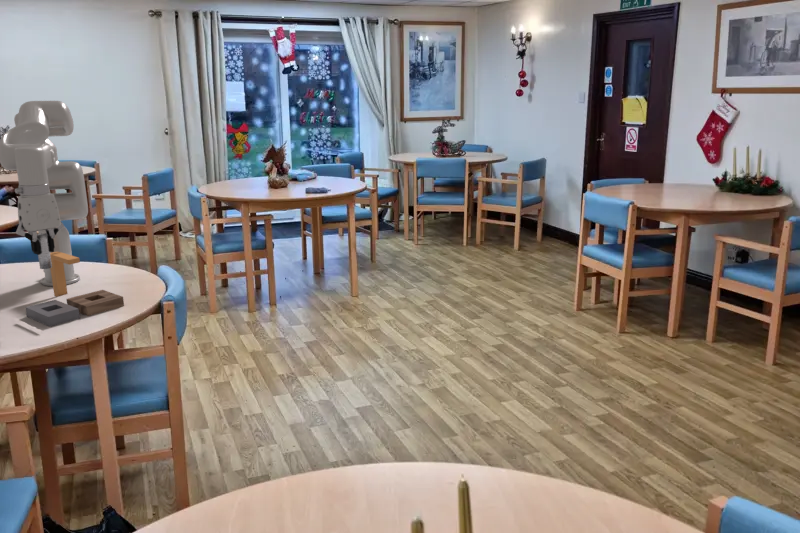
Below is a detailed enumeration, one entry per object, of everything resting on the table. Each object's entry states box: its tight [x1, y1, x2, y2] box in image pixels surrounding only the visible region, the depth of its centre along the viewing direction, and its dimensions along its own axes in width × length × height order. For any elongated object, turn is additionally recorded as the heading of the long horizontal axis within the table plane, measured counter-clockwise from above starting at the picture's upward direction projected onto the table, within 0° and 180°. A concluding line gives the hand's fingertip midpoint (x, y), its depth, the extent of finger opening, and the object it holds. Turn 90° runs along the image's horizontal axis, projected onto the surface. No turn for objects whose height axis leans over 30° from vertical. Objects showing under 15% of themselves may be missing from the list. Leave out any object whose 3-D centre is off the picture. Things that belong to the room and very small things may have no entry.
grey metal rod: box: [37, 233, 52, 270], centre depth 199 cm, size 3×3×10 cm
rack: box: [25, 299, 81, 328], centre depth 205 cm, size 14×9×4 cm, turn 53°
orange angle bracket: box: [50, 252, 81, 298], centre depth 222 cm, size 14×4×15 cm, turn 53°
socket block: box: [66, 289, 125, 317], centre depth 214 cm, size 12×12×4 cm
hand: (43, 252), depth 199 cm, fingers closed on grey metal rod, 3 cm apart
